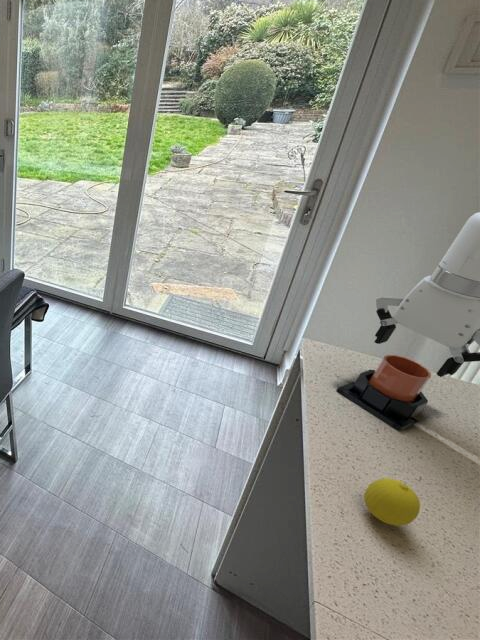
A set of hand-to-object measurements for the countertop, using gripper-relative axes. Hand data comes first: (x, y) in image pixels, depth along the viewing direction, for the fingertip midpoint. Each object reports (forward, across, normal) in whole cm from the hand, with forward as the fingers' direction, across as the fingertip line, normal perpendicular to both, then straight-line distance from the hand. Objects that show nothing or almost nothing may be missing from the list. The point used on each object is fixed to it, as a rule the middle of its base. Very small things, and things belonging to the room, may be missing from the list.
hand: (409, 357), depth 79 cm
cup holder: (+12, 0, 0) cm, 12 cm away
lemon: (+12, -14, +28) cm, 34 cm away
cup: (+12, 0, 0) cm, 12 cm away
